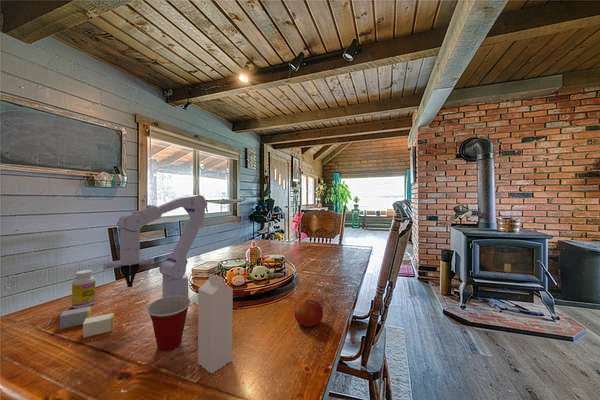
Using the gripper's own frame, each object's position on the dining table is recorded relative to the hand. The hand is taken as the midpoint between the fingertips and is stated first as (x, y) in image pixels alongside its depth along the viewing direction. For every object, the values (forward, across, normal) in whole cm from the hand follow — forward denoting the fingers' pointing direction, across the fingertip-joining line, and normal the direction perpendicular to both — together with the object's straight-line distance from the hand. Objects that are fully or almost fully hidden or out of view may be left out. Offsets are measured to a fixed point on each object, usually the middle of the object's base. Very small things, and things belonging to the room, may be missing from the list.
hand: (130, 286), depth 85 cm
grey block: (+8, -11, +2) cm, 14 cm away
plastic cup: (+10, +10, -28) cm, 31 cm away
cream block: (+8, -4, -8) cm, 12 cm away
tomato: (+10, +50, -39) cm, 64 cm away
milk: (+10, +19, -42) cm, 47 cm away
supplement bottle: (+10, -15, +18) cm, 26 cm away
